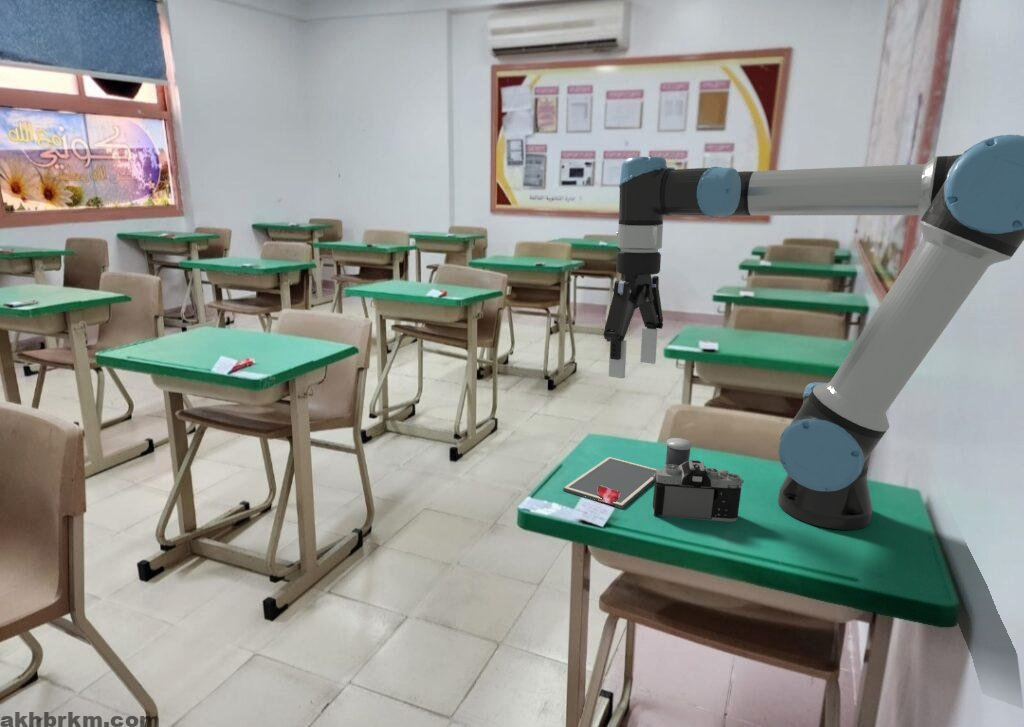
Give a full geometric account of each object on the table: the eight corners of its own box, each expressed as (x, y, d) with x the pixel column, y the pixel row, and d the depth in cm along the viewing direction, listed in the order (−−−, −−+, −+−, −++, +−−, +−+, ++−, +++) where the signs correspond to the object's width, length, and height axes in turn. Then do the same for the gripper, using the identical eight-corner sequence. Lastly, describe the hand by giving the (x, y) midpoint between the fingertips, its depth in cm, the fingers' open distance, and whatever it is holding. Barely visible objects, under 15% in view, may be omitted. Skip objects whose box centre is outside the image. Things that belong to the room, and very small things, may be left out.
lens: (691, 476, 129) (695, 441, 127) (683, 483, 125) (686, 448, 124) (668, 470, 132) (672, 436, 130) (660, 477, 128) (663, 442, 126)
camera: (732, 502, 118) (738, 451, 116) (743, 526, 110) (751, 471, 107) (646, 496, 120) (650, 445, 117) (650, 519, 111) (656, 464, 109)
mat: (662, 474, 130) (663, 471, 129) (622, 509, 114) (622, 505, 114) (608, 459, 136) (608, 456, 136) (563, 490, 121) (563, 487, 121)
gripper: (647, 246, 125) (641, 354, 129) (585, 253, 104) (581, 380, 109) (685, 248, 120) (677, 359, 125) (628, 255, 100) (622, 387, 105)
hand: (633, 369), depth 117 cm, fingers open, 13 cm apart
